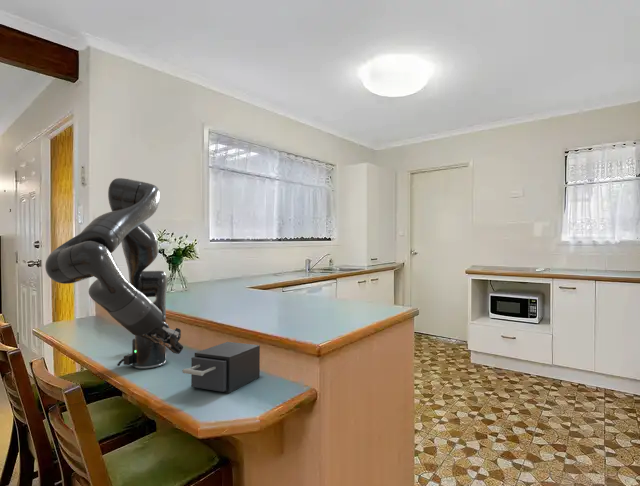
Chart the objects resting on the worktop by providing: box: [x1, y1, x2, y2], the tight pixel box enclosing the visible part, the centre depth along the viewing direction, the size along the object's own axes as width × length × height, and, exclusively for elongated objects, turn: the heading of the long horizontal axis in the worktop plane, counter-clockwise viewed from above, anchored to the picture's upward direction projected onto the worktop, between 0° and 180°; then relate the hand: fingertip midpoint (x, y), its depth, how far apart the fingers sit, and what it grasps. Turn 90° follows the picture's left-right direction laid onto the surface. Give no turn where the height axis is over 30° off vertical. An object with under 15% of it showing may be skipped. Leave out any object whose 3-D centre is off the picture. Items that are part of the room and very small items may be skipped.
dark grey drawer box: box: [194, 341, 261, 394], centre depth 112 cm, size 14×13×10 cm
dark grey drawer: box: [182, 356, 227, 393], centre depth 107 cm, size 18×12×8 cm, turn 161°
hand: (179, 350), depth 95 cm, fingers closed
